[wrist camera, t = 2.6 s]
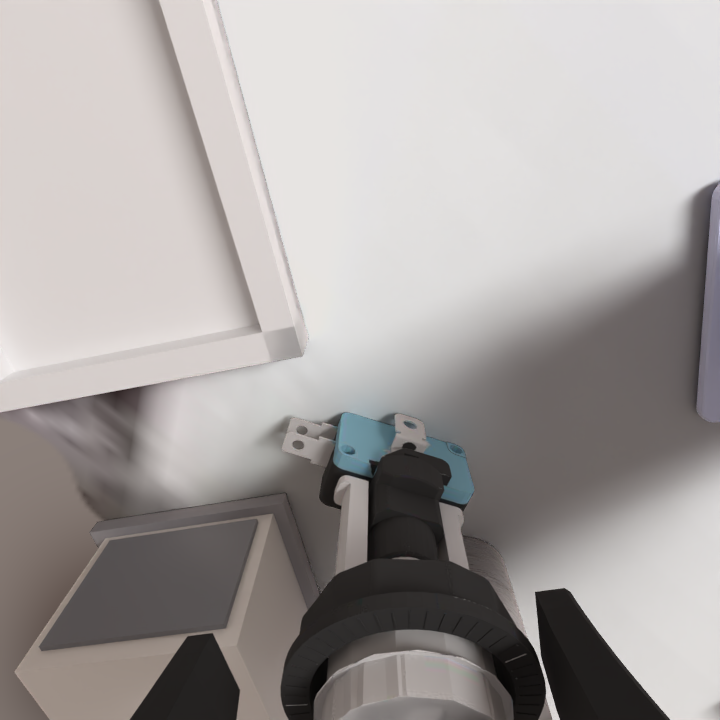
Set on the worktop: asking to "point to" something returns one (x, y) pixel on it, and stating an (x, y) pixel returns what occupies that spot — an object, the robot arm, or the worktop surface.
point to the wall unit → (176, 608)
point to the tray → (131, 204)
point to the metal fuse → (496, 583)
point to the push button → (403, 590)
